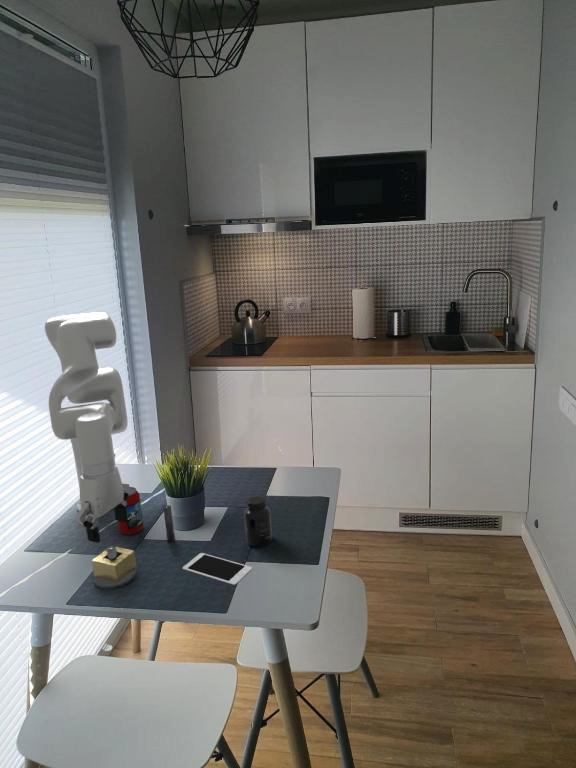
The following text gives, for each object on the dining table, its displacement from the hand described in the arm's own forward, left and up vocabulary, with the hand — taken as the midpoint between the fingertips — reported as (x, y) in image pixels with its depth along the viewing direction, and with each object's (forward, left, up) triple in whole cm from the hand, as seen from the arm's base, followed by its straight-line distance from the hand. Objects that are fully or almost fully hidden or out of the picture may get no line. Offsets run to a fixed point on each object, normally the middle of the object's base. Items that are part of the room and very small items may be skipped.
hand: (108, 531), depth 142 cm
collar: (+1, 0, -11) cm, 11 cm away
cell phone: (+14, +21, -13) cm, 28 cm away
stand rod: (-6, +18, -12) cm, 22 cm away
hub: (+1, 0, -12) cm, 12 cm away
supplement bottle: (+10, +36, -12) cm, 39 cm away
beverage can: (-19, +12, -12) cm, 26 cm away
